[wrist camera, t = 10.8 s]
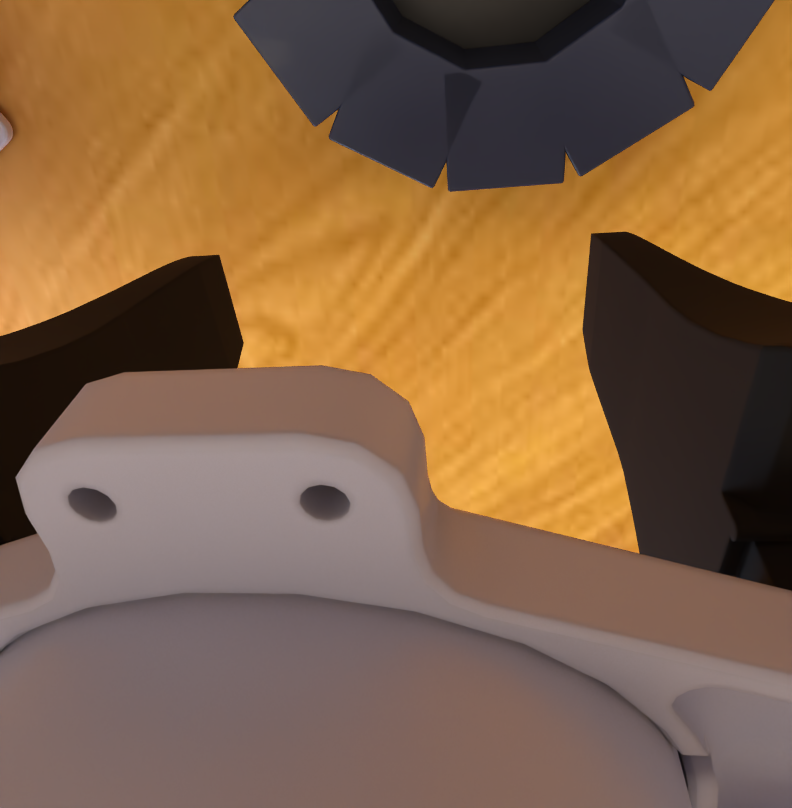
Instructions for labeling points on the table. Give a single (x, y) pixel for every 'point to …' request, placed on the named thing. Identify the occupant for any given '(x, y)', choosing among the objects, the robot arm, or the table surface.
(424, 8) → the peg stand
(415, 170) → the hoop
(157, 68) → the table surface
